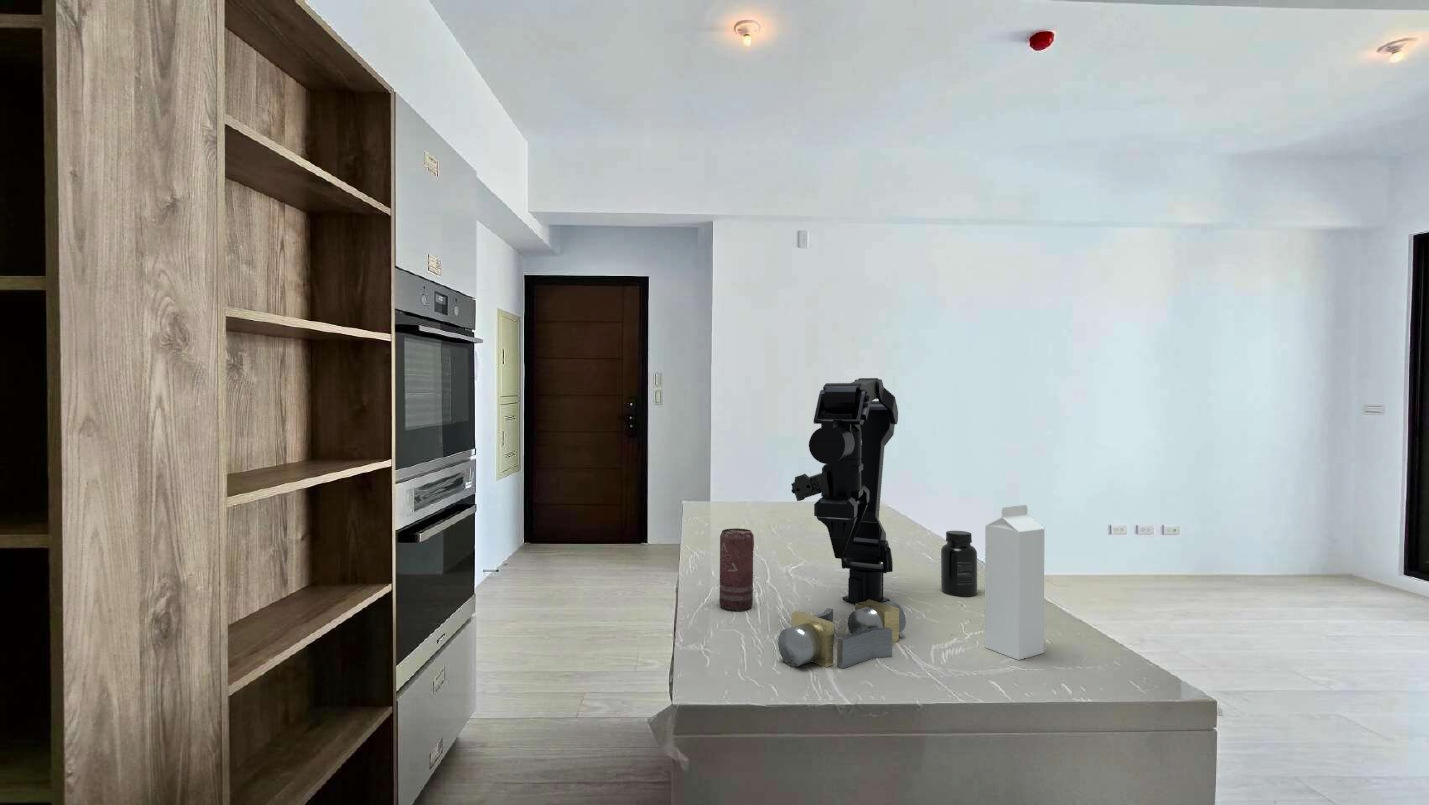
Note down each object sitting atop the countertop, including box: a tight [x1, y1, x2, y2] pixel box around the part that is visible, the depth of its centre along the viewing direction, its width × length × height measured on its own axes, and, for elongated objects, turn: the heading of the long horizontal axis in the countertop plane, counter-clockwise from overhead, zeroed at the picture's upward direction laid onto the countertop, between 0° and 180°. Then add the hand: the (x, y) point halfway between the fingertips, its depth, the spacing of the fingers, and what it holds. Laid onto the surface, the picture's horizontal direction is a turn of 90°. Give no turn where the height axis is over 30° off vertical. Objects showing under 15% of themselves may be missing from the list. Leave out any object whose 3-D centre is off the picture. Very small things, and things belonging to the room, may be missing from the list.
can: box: [718, 527, 755, 612], centre depth 122 cm, size 6×6×14 cm
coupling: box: [777, 607, 893, 670], centre depth 99 cm, size 15×13×6 cm
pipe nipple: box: [847, 600, 907, 644], centre depth 106 cm, size 8×6×5 cm
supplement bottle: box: [940, 530, 978, 597], centre depth 133 cm, size 7×7×12 cm
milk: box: [984, 504, 1045, 661], centre depth 101 cm, size 6×6×22 cm
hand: (843, 552), depth 110 cm, fingers open, 9 cm apart
